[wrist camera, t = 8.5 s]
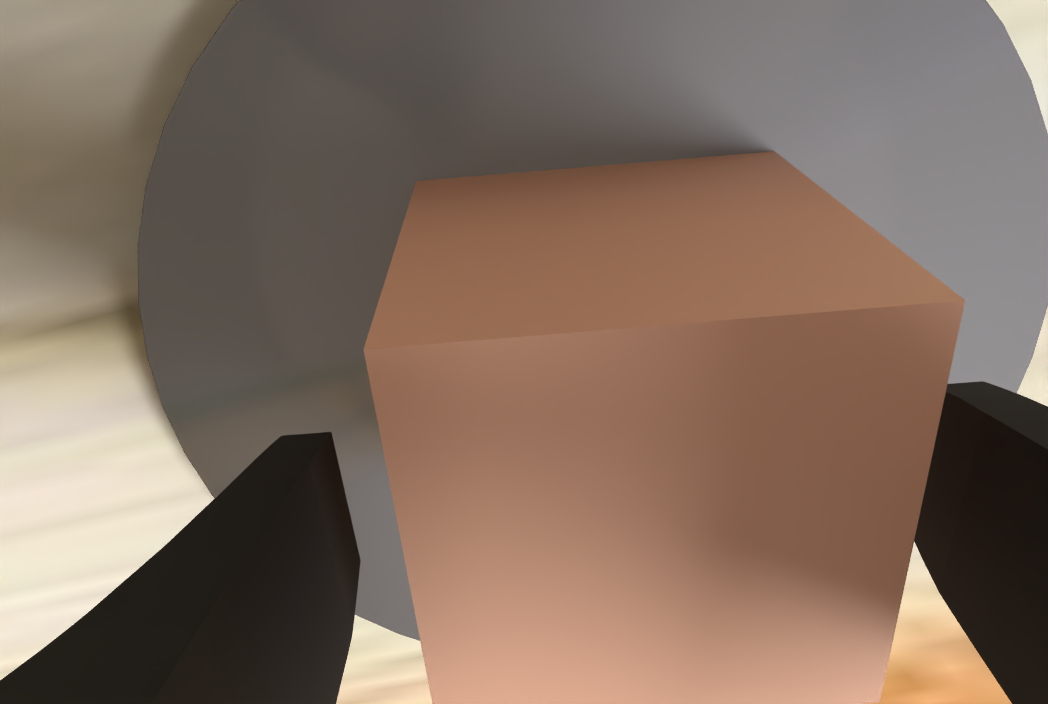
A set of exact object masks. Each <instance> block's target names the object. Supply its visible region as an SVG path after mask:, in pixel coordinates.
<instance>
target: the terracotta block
mask: <svg viewBox="0 0 1048 704" xmlns="http://www.w3.org/2000/svg"><path fill="white" fill-rule="evenodd" d="M964 304H965V300H964V299H963V298H961V297H960V296H959V295H958V294H956V293H955V292H954V291H952V290H951V289H950V288H949V287H947V286H946V285H945V284H944V283H942V282H941V281H940V280H938V279H937V278H936V277H935V276H933V275H932V274H931V273H929V272H928V271H927V270H926V269H924V268H923V267H922V266H921V265H919V264H918V263H917V262H915V261H914V260H913V259H912V258H910V257H909V256H908V255H906V254H905V253H904V252H903V251H901V250H900V249H899V248H898V247H896V246H895V245H894V244H892V243H891V242H890V241H889V240H887V239H886V238H885V237H884V236H882V235H881V234H880V233H878V232H877V231H876V230H875V229H873V228H872V227H871V226H869V225H868V224H867V223H866V222H864V221H863V220H862V219H861V218H859V217H858V216H857V215H855V214H854V213H853V212H852V211H850V210H849V209H848V208H846V207H845V206H844V205H843V204H841V203H840V202H839V201H838V200H836V199H835V198H834V197H832V196H831V195H830V194H829V193H827V192H826V191H825V190H823V189H822V188H821V187H820V186H818V185H817V184H816V183H815V182H813V181H812V180H811V179H809V178H808V177H807V176H806V175H804V174H803V173H802V172H801V171H799V170H798V169H797V168H795V167H794V166H793V165H792V164H790V163H789V162H788V161H786V160H785V159H784V158H783V157H781V156H780V155H779V154H778V153H776V152H775V151H772V152H760V153H748V154H736V155H724V156H712V157H700V158H688V159H675V160H663V161H651V162H639V163H627V164H615V165H603V166H591V167H579V168H567V169H555V170H543V171H530V172H518V173H506V174H494V175H482V176H470V177H458V178H446V179H434V180H422V181H416V184H415V187H414V190H413V193H412V196H411V200H410V203H409V206H408V209H407V212H406V216H405V219H404V222H403V225H402V228H401V232H400V235H399V238H398V241H397V244H396V247H395V251H394V254H393V257H392V260H391V263H390V267H389V270H388V273H387V276H386V279H385V282H384V286H383V289H382V292H381V295H380V298H379V302H378V305H377V308H376V311H375V314H374V318H373V321H372V324H371V327H370V330H369V333H368V337H367V340H366V343H365V346H364V349H363V350H364V355H365V360H366V365H367V370H368V375H369V381H370V386H371V391H372V396H373V401H374V406H375V411H376V416H377V421H378V427H379V432H380V437H381V442H382V447H383V452H384V457H385V462H386V467H387V473H388V478H389V483H390V488H391V493H392V498H393V503H394V508H395V514H396V519H397V524H398V529H399V534H400V539H401V544H402V549H403V554H404V560H405V565H406V570H407V575H408V580H409V585H410V590H411V595H412V600H413V606H414V611H415V616H416V621H417V626H418V631H419V636H420V641H421V647H422V652H423V657H424V662H425V667H426V672H427V677H428V682H429V687H430V693H431V698H432V703H433V704H863V703H876V702H880V698H881V693H882V689H883V684H884V679H885V675H886V670H887V665H888V660H889V656H890V651H891V646H892V642H893V637H894V632H895V628H896V623H897V618H898V614H899V609H900V604H901V599H902V595H903V590H904V585H905V581H906V576H907V571H908V567H909V562H910V557H911V553H912V548H913V543H914V539H915V534H916V529H917V524H918V520H919V515H920V510H921V506H922V501H923V496H924V492H925V487H926V482H927V478H928V473H929V468H930V464H931V459H932V454H933V449H934V445H935V440H936V435H937V431H938V426H939V421H940V417H941V412H942V407H943V403H944V398H945V393H946V388H947V384H948V379H949V374H950V370H951V365H952V360H953V356H954V351H955V346H956V342H957V337H958V332H959V328H960V323H961V318H962V313H963V309H964Z"/></svg>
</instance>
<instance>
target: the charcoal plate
mask: <svg viewBox="0 0 1048 704" xmlns="http://www.w3.org/2000/svg"><path fill="white" fill-rule="evenodd" d="M772 151H775V152H776V153H778V154H779V155H780V156H781V157H783V158H784V159H785V160H786V161H788V162H789V163H790V164H792V165H793V166H794V167H795V168H797V169H798V170H799V171H801V172H802V173H803V174H804V175H806V176H807V177H808V178H809V179H811V180H812V181H813V182H815V183H816V184H817V185H818V186H820V187H821V188H822V189H823V190H825V191H826V192H827V193H829V194H830V195H831V196H832V197H834V198H835V199H836V200H838V201H839V202H840V203H841V204H843V205H844V206H845V207H846V208H848V209H849V210H850V211H852V212H853V213H854V214H855V215H857V216H858V217H859V218H861V219H862V220H863V221H864V222H866V223H867V224H868V225H869V226H871V227H872V228H873V229H875V230H876V231H877V232H878V233H880V234H881V235H882V236H884V237H885V238H886V239H887V240H889V241H890V242H891V243H892V244H894V245H895V246H896V247H898V248H899V249H900V250H901V251H903V252H904V253H905V254H906V255H908V256H909V257H910V258H912V259H913V260H914V261H915V262H917V263H918V264H919V265H921V266H922V267H923V268H924V269H926V270H927V271H928V272H929V273H931V274H932V275H933V276H935V277H936V278H937V279H938V280H940V281H941V282H942V283H944V284H945V285H946V286H947V287H949V288H950V289H951V290H952V291H954V292H955V293H956V294H958V295H959V296H960V297H961V298H963V299H964V300H965V304H964V309H963V313H962V318H961V323H960V328H959V332H958V337H957V342H956V346H955V351H954V356H953V360H952V365H951V370H950V374H949V379H948V384H954V383H967V382H980V381H984V382H987V383H990V384H993V385H995V386H998V387H1001V388H1004V389H1006V390H1009V391H1012V392H1014V393H1017V391H1018V388H1019V386H1020V384H1021V382H1022V379H1023V377H1024V375H1025V373H1026V370H1027V368H1028V366H1029V364H1030V361H1031V359H1032V357H1033V353H1034V350H1035V347H1036V343H1037V340H1038V337H1039V333H1040V330H1041V326H1042V323H1043V320H1044V316H1045V313H1046V310H1047V306H1048V134H1047V130H1046V127H1045V124H1044V121H1043V117H1042V114H1041V111H1040V108H1039V104H1038V101H1037V98H1036V95H1035V91H1034V88H1033V85H1032V82H1031V79H1030V77H1029V75H1028V73H1027V71H1026V69H1025V67H1024V65H1023V63H1022V61H1021V59H1020V57H1019V55H1018V53H1017V51H1016V49H1015V47H1014V45H1013V43H1012V41H1011V39H1010V37H1009V35H1008V33H1007V31H1006V29H1005V27H1004V25H1003V23H1002V22H1001V20H1000V19H999V18H998V16H997V15H996V13H995V12H994V11H993V9H992V8H991V7H990V5H989V4H988V2H987V1H986V0H240V1H239V2H238V3H237V4H236V5H235V6H234V7H233V8H232V9H231V11H230V12H229V14H228V15H227V17H226V18H225V20H224V21H223V23H222V24H221V26H220V27H219V28H218V30H217V31H216V33H215V34H214V36H213V37H212V39H211V40H210V42H209V43H208V45H207V46H206V48H205V49H204V50H203V52H202V53H201V55H200V56H199V58H198V59H197V61H196V62H195V64H194V65H193V67H192V69H191V71H190V73H189V75H188V77H187V79H186V81H185V83H184V85H183V87H182V90H181V92H180V94H179V96H178V98H177V100H176V102H175V104H174V106H173V108H172V111H171V113H170V115H169V117H168V119H167V121H166V123H165V125H164V128H163V131H162V135H161V138H160V141H159V145H158V148H157V151H156V155H155V158H154V161H153V165H152V168H151V171H150V175H149V178H148V181H147V185H146V190H145V197H144V204H143V211H142V219H141V226H140V233H139V240H138V303H139V309H140V315H141V322H142V328H143V334H144V340H145V346H146V353H147V358H148V361H149V364H150V367H151V370H152V374H153V377H154V380H155V383H156V386H157V390H158V393H159V396H160V399H161V402H162V406H163V408H164V410H165V412H166V414H167V417H168V419H169V421H170V423H171V425H172V427H173V429H174V431H175V433H176V436H177V438H178V440H179V442H180V444H181V446H182V448H183V450H184V453H185V454H186V456H187V457H188V459H189V460H190V462H191V463H192V465H193V467H194V468H195V470H196V471H197V473H198V474H199V476H200V477H201V479H202V480H203V482H204V484H205V485H206V487H207V488H208V490H209V491H210V493H211V494H212V496H213V497H214V498H216V497H217V496H218V495H219V494H220V493H221V492H222V491H223V490H224V489H225V488H226V487H227V486H228V485H229V484H230V483H231V482H232V481H233V480H235V479H236V478H237V477H238V476H239V475H240V474H241V473H242V472H243V471H244V470H245V469H246V468H247V467H248V466H249V465H250V464H251V463H252V462H253V461H254V460H255V459H256V458H257V457H258V456H259V455H260V454H261V453H262V452H263V451H265V450H266V449H267V448H268V447H269V446H270V445H271V444H272V443H273V442H274V441H276V440H277V439H278V438H279V437H280V436H283V435H296V434H309V433H322V432H332V437H333V441H334V445H335V450H336V454H337V459H338V463H339V467H340V472H341V476H342V481H343V485H344V489H345V494H346V498H347V503H348V507H349V511H350V516H351V520H352V525H353V529H354V533H355V538H356V542H357V547H358V551H359V555H360V560H361V562H360V571H359V581H358V590H357V599H356V608H355V615H357V616H360V617H362V618H364V619H366V620H369V621H371V622H373V623H375V624H378V625H380V626H382V627H384V628H387V629H389V630H391V631H393V632H396V633H398V634H401V635H404V636H407V637H410V638H413V639H416V640H419V641H420V636H419V631H418V626H417V621H416V616H415V611H414V606H413V600H412V595H411V590H410V585H409V580H408V575H407V570H406V565H405V560H404V554H403V549H402V544H401V539H400V534H399V529H398V524H397V519H396V514H395V508H394V503H393V498H392V493H391V488H390V483H389V478H388V473H387V467H386V462H385V457H384V452H383V447H382V442H381V437H380V432H379V427H378V421H377V416H376V411H375V406H374V401H373V396H372V391H371V386H370V381H369V375H368V370H367V365H366V360H365V355H364V350H363V349H364V346H365V343H366V340H367V337H368V333H369V330H370V327H371V324H372V321H373V318H374V314H375V311H376V308H377V305H378V302H379V298H380V295H381V292H382V289H383V286H384V282H385V279H386V276H387V273H388V270H389V267H390V263H391V260H392V257H393V254H394V251H395V247H396V244H397V241H398V238H399V235H400V232H401V228H402V225H403V222H404V219H405V216H406V212H407V209H408V206H409V203H410V200H411V196H412V193H413V190H414V187H415V184H416V181H422V180H434V179H446V178H458V177H470V176H482V175H494V174H506V173H518V172H530V171H543V170H555V169H567V168H579V167H591V166H603V165H615V164H627V163H639V162H651V161H663V160H675V159H688V158H700V157H712V156H724V155H736V154H748V153H760V152H772Z"/></svg>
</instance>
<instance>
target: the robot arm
mask: <svg viewBox="0 0 1048 704" xmlns="http://www.w3.org/2000/svg"><path fill="white" fill-rule="evenodd" d="M914 541H915V544H916V546H917V548H918V550H919V552H920V555H921V557H922V559H923V561H924V563H925V565H926V567H927V569H928V571H929V573H930V575H931V577H932V579H933V581H934V583H935V585H936V587H937V589H938V591H939V593H940V594H941V596H942V597H943V599H944V601H945V602H946V604H947V605H948V607H949V609H950V610H951V612H952V613H953V615H954V616H955V618H956V619H957V621H958V622H959V624H960V625H961V627H962V629H963V630H964V632H965V633H966V635H967V636H968V638H969V639H970V641H971V642H972V644H973V645H974V647H975V648H976V650H977V652H978V653H979V655H980V656H981V658H982V659H983V661H984V662H985V664H986V665H987V667H988V668H989V670H990V671H991V673H992V674H993V676H994V677H995V679H996V680H997V682H998V683H999V685H1000V686H1001V688H1002V689H1003V691H1004V692H1005V694H1006V695H1007V697H1008V698H1009V700H1010V701H1011V703H1012V704H1048V407H1047V406H1045V405H1043V404H1040V403H1038V402H1036V401H1033V400H1031V399H1029V398H1026V397H1024V396H1021V395H1019V394H1017V393H1014V392H1012V391H1009V390H1006V389H1004V388H1001V387H998V386H995V385H993V384H990V383H987V382H984V381H980V382H967V383H954V384H947V388H946V393H945V398H944V403H943V407H942V412H941V417H940V421H939V426H938V431H937V435H936V440H935V445H934V449H933V454H932V459H931V464H930V468H929V473H928V478H927V482H926V487H925V492H924V496H923V501H922V506H921V510H920V515H919V520H918V524H917V529H916V534H915V539H914ZM360 562H361V560H360V555H359V551H358V547H357V542H356V538H355V533H354V529H353V525H352V520H351V516H350V511H349V507H348V503H347V498H346V494H345V489H344V485H343V481H342V476H341V472H340V467H339V463H338V459H337V454H336V450H335V445H334V441H333V437H332V432H322V433H309V434H296V435H283V436H280V437H279V438H278V439H277V440H276V441H274V442H273V443H272V444H271V445H270V446H269V447H268V448H267V449H266V450H265V451H263V452H262V453H261V454H260V455H259V456H258V457H257V458H256V459H255V460H254V461H253V462H252V463H251V464H250V465H249V466H248V467H247V468H246V469H245V470H244V471H243V472H242V473H241V474H240V475H239V476H238V477H237V478H236V479H235V480H233V481H232V482H231V483H230V484H229V485H228V486H227V487H226V488H225V489H224V490H223V491H222V492H221V493H220V494H219V495H218V496H217V497H216V498H215V499H214V500H213V501H212V502H211V503H210V504H209V505H208V506H207V507H205V508H204V509H203V510H202V511H201V512H200V513H199V514H198V515H197V516H196V517H195V518H194V519H193V520H192V521H191V522H190V523H189V524H188V525H186V526H185V527H184V528H183V529H182V530H181V531H180V532H179V533H178V534H177V535H176V536H175V537H174V538H173V539H172V540H171V541H170V542H169V543H167V544H166V545H165V546H164V547H163V548H162V549H161V550H160V551H159V552H157V553H156V554H155V555H154V556H153V557H152V558H150V559H149V560H148V561H147V562H146V563H145V564H144V565H142V566H141V567H140V568H139V569H138V570H137V571H136V572H134V573H133V574H132V575H131V576H130V577H129V578H127V579H126V580H125V581H124V582H123V583H122V584H121V585H119V586H118V587H117V588H116V589H115V590H114V591H112V592H111V593H110V594H109V595H108V596H107V597H106V598H104V599H103V600H102V601H101V602H100V603H99V604H98V605H96V606H95V607H94V608H93V609H92V610H91V611H89V612H88V613H87V614H86V615H85V616H83V617H82V618H81V619H80V620H78V621H77V622H76V623H75V624H74V625H72V626H71V627H70V628H69V629H67V630H66V631H65V632H64V633H62V634H61V635H60V636H58V637H57V638H56V639H55V640H53V641H52V642H51V643H50V644H48V645H47V646H46V647H44V648H43V649H42V650H41V651H39V652H38V653H37V654H35V655H34V656H33V657H31V658H30V659H29V660H27V661H26V662H25V663H23V664H22V665H21V666H19V667H18V668H17V669H15V670H14V671H12V672H11V673H10V674H8V675H7V676H6V677H4V678H3V679H2V680H0V704H336V701H337V697H338V692H339V688H340V684H341V680H342V676H343V672H344V668H345V664H346V659H347V655H348V651H349V647H350V642H351V638H352V631H353V623H354V616H355V608H356V599H357V590H358V581H359V571H360Z"/></svg>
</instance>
